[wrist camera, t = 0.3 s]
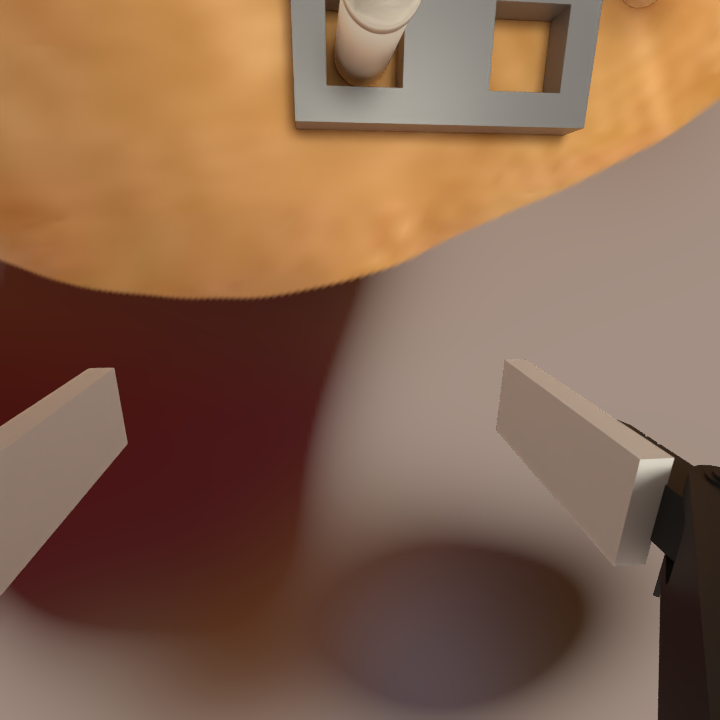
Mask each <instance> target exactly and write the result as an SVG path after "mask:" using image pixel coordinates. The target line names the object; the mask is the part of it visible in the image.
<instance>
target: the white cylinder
mask: <svg viewBox="0 0 720 720" xmlns="http://www.w3.org/2000/svg"><path fill="white" fill-rule="evenodd" d="M420 2H421V0H340V3H339V12H338V21H337V30H336V39H335V47H334V60H335V65H336V68H337V70H338V72H339V74H340V75H341V77H342V78H343V79H344V80H345V81H346V82H348V83H349V84H351V85H353V86H357V87H367V86H370V85H373V84H374V83H376V82H377V81H378V80H379V79H380V78H381V77H382V76H383V74H384V72H385V70H386V68H387V66H388V64H389V62H390V59H391V57H392V55H393V53H394V51H395V49H396V47H397V45H398V42H399V40H400V38H401V36H402V34H403V32H404V30H405V27H406V25H407V23H408V22H409V21H410V20H411V18H412V17H413V16H414V14H415V12H416V10H417V8H418V6H419V4H420Z"/></svg>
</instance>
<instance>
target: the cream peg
mask: <svg viewBox="0 0 720 720" xmlns="http://www.w3.org/2000/svg"><path fill="white" fill-rule="evenodd" d="M623 1H624V2H625V3H626V4H627V5H629V6H631V7H633V8H643V7H646V6H649V5H650V4H652V3H654V2H655V1H657V0H623Z"/></svg>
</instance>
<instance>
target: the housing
mask: <svg viewBox="0 0 720 720" xmlns="http://www.w3.org/2000/svg"><path fill="white" fill-rule="evenodd" d="M602 2H603V0H421V2H420V4H419V6H418V8H417V10H416V12H415V14H414V16H413V17H412V18H411V20H410V21H409V22H408V23H407V25H406V27H405V30H404V32H403V34H402V36H401V38H400V40H399V42H398V45H397V83H396V88H387V87H357V86H327V83H326V30H325V10H332V11H339V3H340V0H291V24H292V49H293V74H294V99H295V122H296V127H297V129H326V130H369V131H412V132H455V133H497V134H540V135H566V134H569V133H571V132H574V131H577V130H580V129H583V128H584V123H585V117H586V110H587V103H588V96H589V90H590V83H591V76H592V69H593V63H594V56H595V49H596V42H597V36H598V29H599V22H600V15H601V9H602ZM495 19H511V20H531V21H551V26H550V35H549V43H548V52H547V60H546V69H545V77H544V86H543V93H537V92H507V91H489V84H490V72H491V60H492V48H493V37H494V25H495Z"/></svg>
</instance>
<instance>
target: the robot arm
mask: <svg viewBox="0 0 720 720" xmlns="http://www.w3.org/2000/svg"><path fill="white" fill-rule="evenodd" d="M496 430H497V432H498V433H499V434H500V435H501V436H502V437H503V438H504V440H505V441H506V442H507V443H508V444H509V445H510V446H511V448H512V449H513V450H514V451H515V452H516V454H517V455H518V456H519V457H520V458H521V459H522V460H523V462H524V463H525V464H526V465H527V466H528V467H529V469H530V470H531V471H532V472H533V473H534V474H535V476H536V477H537V478H538V479H539V480H540V481H541V483H542V484H543V485H544V486H545V487H546V488H547V490H548V491H549V492H550V493H551V494H552V495H553V496H554V498H555V499H556V500H557V501H558V502H559V503H560V505H561V506H562V507H563V508H564V509H565V510H566V511H567V513H568V514H569V515H570V516H571V517H572V518H573V520H574V521H575V522H576V523H577V524H578V525H579V526H580V528H581V529H582V530H583V531H584V532H585V534H586V535H587V536H588V537H589V538H590V539H591V540H592V542H593V543H594V544H595V545H596V546H597V547H598V549H599V550H600V551H601V552H602V553H603V554H604V556H605V557H606V558H607V559H608V560H609V561H610V562H611V563H612V565H613V566H626V565H639V564H645V563H646V559H647V556H648V552H649V549H650V545H651V541H652V542H653V543H654V544H655V545H656V546H657V547H659V548H660V549H661V550H662V551H663V552H664V553H665V555H664V559H663V563H662V566H661V569H660V573H659V576H658V580H657V583H656V587H655V590H654V593H653V595H654V596H656V597H659V596H660V638H659V688H658V691H659V692H658V720H720V467H717V466H711V465H697V466H693V465H691V464H690V463H688V462H686V461H685V460H683V459H682V458H680V457H679V456H677V455H676V454H674V453H673V452H671V451H670V450H668V449H666V448H665V447H663V446H662V445H660V444H657V442H656V441H654V440H652V439H651V438H650V437H645V434H643V433H642V432H640V431H639V430H637V429H636V428H634V427H633V426H631V425H629V424H626V423H624V422H622V421H619V420H617V419H615V418H613V417H612V416H610V415H609V414H607V413H606V412H604V411H603V410H601V409H600V408H598V407H597V406H595V405H594V404H592V403H591V402H589V401H588V400H586V399H585V398H583V397H582V396H580V395H579V394H577V393H576V392H574V391H573V390H571V389H569V388H568V387H567V386H565V385H563V384H562V383H560V382H559V381H557V380H556V379H554V378H553V377H551V376H550V375H548V374H547V373H545V372H543V371H542V370H541V369H539V368H538V367H536V366H535V365H533V364H532V363H530V362H529V361H527V360H526V359H519V360H518V359H517V360H505V361H504V370H503V378H502V386H501V394H500V402H499V410H498V418H497V426H496ZM126 445H127V438H126V432H125V426H124V421H123V415H122V409H121V405H120V398H119V392H118V387H117V381H116V376H115V370H114V368H89V369H87V370H86V371H84V372H83V373H81V374H80V375H78V376H77V377H75V378H73V379H72V380H70V381H69V382H68V383H66V384H64V385H63V386H61V387H60V388H58V389H57V390H55V391H54V392H52V393H51V394H49V395H48V396H46V397H45V398H43V399H42V400H40V401H38V402H37V403H36V404H34V405H33V406H31V407H29V408H28V409H26V410H25V411H23V412H22V413H20V414H19V415H17V416H16V417H14V418H13V419H11V420H10V421H8V422H7V423H5V424H4V425H2V426H0V596H1V594H2V593H3V592H4V591H5V590H6V588H7V587H8V586H9V585H10V584H11V582H12V581H13V580H14V579H15V577H16V576H17V575H18V574H19V573H20V572H21V570H22V569H23V568H24V567H25V566H26V564H27V563H28V562H29V561H30V559H31V558H32V557H33V556H34V555H35V554H36V553H37V551H38V550H39V549H40V548H41V547H42V545H43V544H44V543H45V542H46V540H47V539H48V538H49V537H50V536H51V535H52V533H53V532H54V531H55V530H56V529H57V527H58V526H59V525H60V524H61V523H62V521H63V520H64V519H65V518H66V517H67V515H68V514H69V513H70V512H71V511H72V509H73V508H74V507H75V506H76V505H77V503H78V502H79V501H80V500H81V499H82V498H83V496H84V495H85V494H86V493H87V491H88V490H89V489H90V488H91V487H92V486H93V484H94V483H95V482H96V481H97V480H98V478H99V477H100V476H101V475H102V474H103V472H104V471H105V470H106V469H107V468H108V466H109V465H110V464H111V463H112V462H113V460H114V459H115V458H116V457H117V456H118V454H119V453H120V452H121V451H122V450H123V449H124V447H125V446H126Z"/></svg>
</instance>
